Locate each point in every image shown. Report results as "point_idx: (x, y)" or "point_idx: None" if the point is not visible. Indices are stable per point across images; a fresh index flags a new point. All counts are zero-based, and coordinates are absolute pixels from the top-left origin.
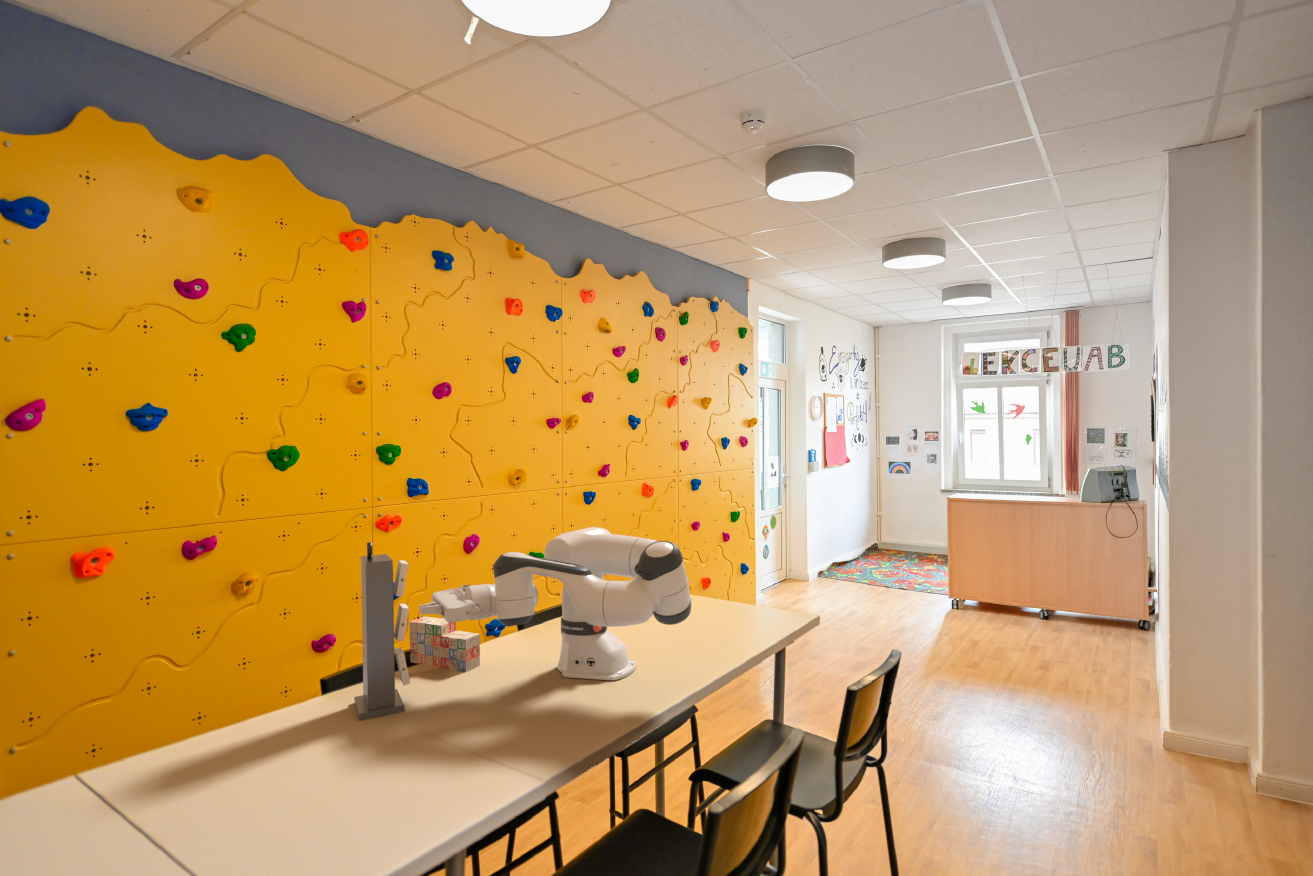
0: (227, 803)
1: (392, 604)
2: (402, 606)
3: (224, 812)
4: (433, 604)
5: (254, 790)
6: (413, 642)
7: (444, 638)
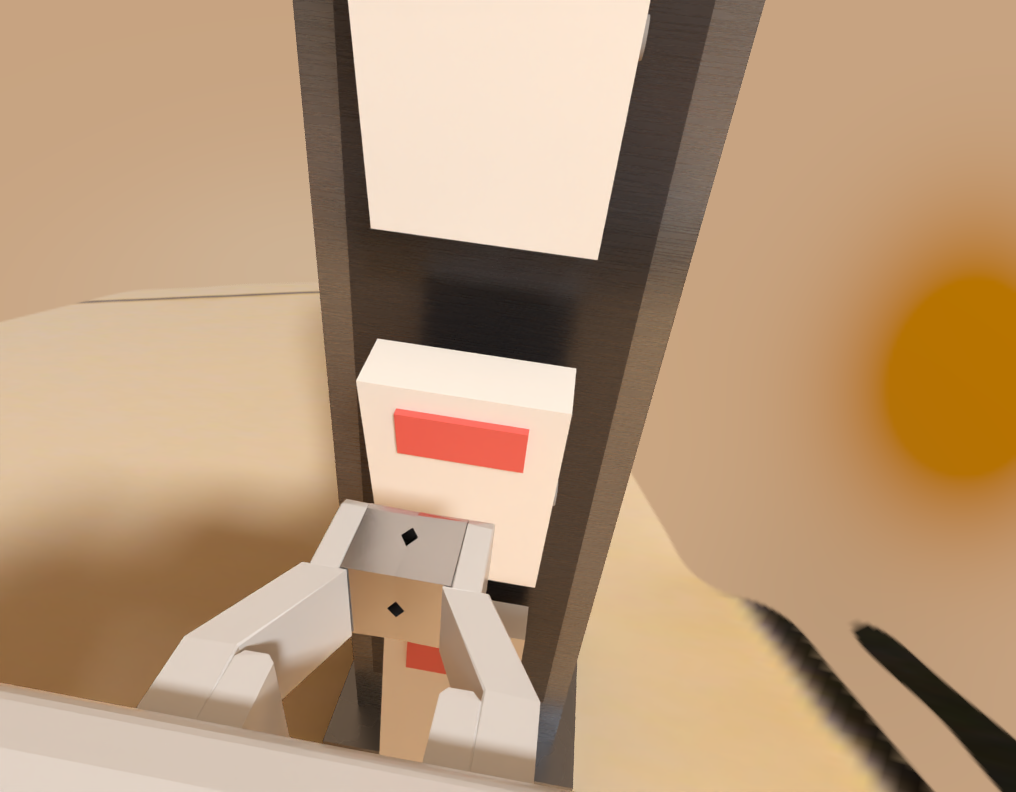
0: (207, 346)
1: (316, 223)
2: (446, 357)
3: (179, 340)
4: (442, 704)
5: (210, 371)
6: None
7: None
